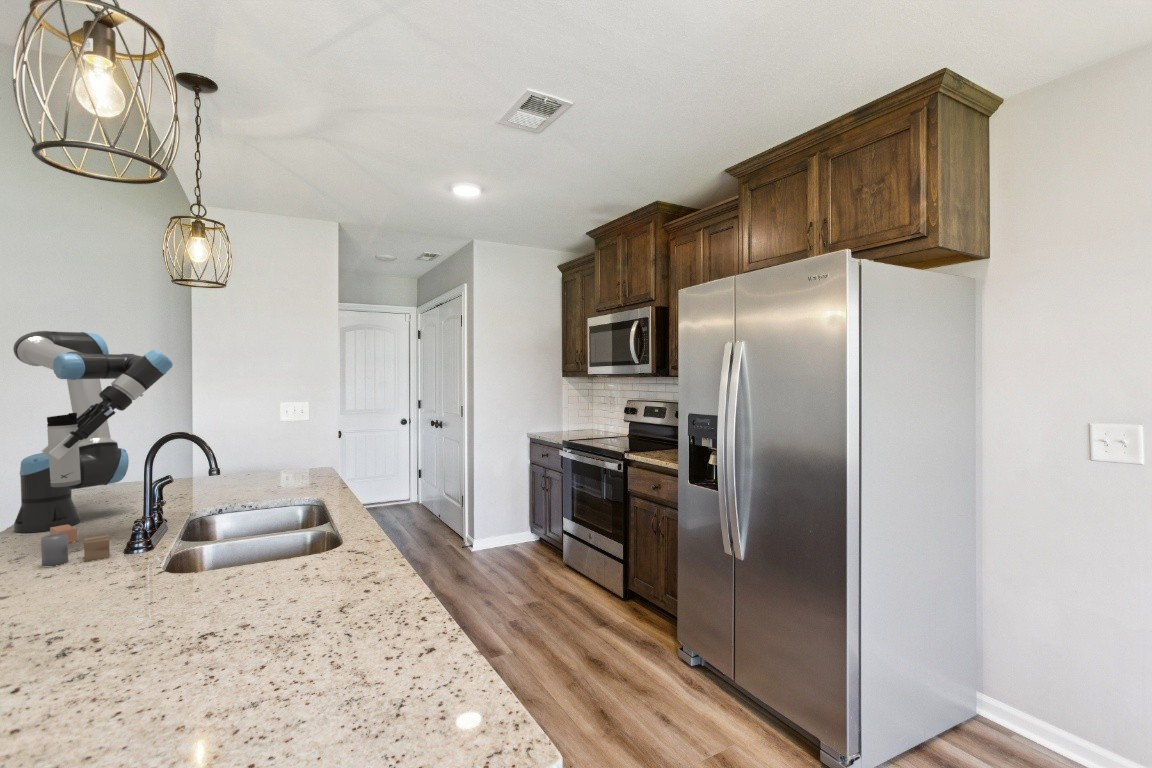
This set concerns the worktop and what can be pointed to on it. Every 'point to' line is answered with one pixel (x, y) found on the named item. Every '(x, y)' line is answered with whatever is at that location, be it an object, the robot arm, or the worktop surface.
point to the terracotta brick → (65, 532)
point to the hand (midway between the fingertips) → (49, 455)
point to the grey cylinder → (54, 549)
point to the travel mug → (68, 464)
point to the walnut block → (96, 548)
